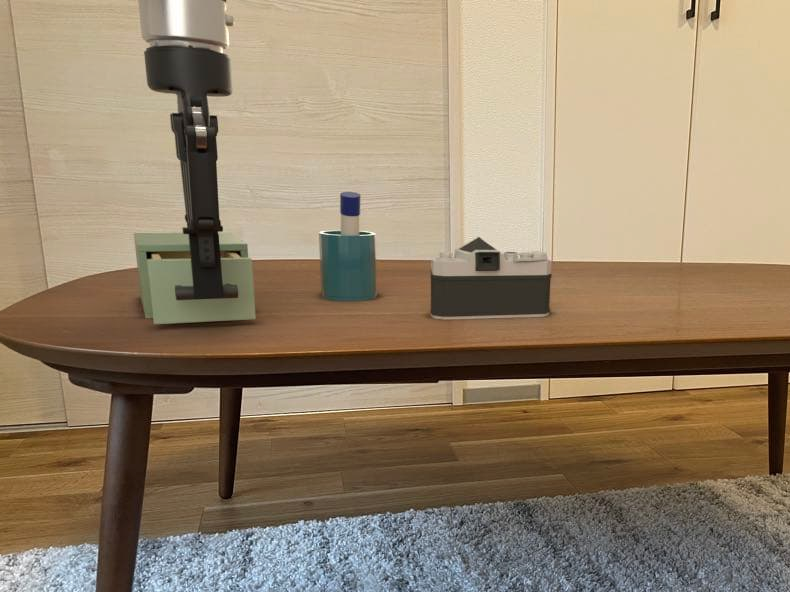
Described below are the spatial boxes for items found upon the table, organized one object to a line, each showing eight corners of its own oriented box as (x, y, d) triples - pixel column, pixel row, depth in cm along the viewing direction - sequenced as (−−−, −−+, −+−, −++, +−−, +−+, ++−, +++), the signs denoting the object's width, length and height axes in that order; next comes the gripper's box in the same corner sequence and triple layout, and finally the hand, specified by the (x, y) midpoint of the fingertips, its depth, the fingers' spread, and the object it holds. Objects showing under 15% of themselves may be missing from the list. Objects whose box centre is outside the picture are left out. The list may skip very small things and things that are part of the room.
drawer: (262, 326, 84) (258, 263, 82) (156, 332, 79) (149, 265, 77) (240, 300, 98) (236, 246, 96) (148, 304, 93) (142, 247, 91)
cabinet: (252, 315, 94) (247, 243, 92) (145, 320, 89) (137, 244, 86) (236, 297, 106) (231, 232, 103) (141, 300, 100) (133, 233, 98)
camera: (533, 307, 108) (536, 233, 105) (557, 319, 100) (561, 240, 97) (420, 310, 102) (420, 232, 99) (436, 323, 94) (436, 239, 91)
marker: (342, 295, 106) (343, 197, 99) (337, 288, 108) (338, 191, 101) (361, 294, 107) (363, 197, 101) (356, 287, 109) (357, 191, 103)
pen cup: (329, 304, 103) (326, 235, 101) (316, 295, 109) (313, 230, 107) (383, 302, 107) (382, 235, 104) (368, 293, 113) (366, 230, 110)
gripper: (239, 45, 69) (256, 306, 76) (222, 59, 80) (238, 286, 87) (145, 36, 66) (173, 310, 73) (141, 52, 77) (165, 289, 84)
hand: (208, 297), depth 80 cm, fingers closed
